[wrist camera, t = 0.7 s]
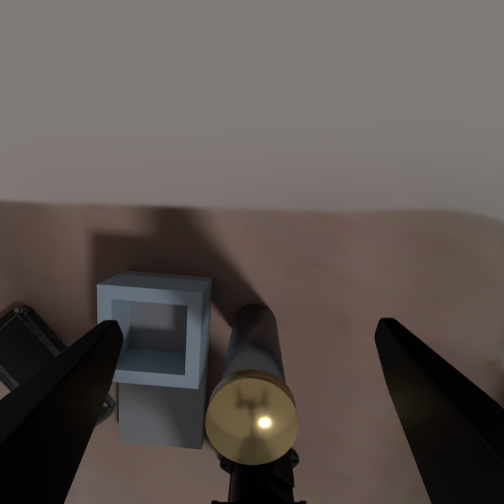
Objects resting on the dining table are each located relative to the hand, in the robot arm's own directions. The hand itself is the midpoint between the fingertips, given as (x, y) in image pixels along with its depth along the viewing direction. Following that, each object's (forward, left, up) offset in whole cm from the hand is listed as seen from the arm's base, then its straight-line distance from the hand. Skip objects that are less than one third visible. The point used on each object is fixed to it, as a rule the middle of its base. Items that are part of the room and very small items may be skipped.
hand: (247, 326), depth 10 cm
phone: (-25, +8, -18) cm, 32 cm away
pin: (-6, -5, -18) cm, 19 cm away
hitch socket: (-15, 0, -18) cm, 23 cm away
